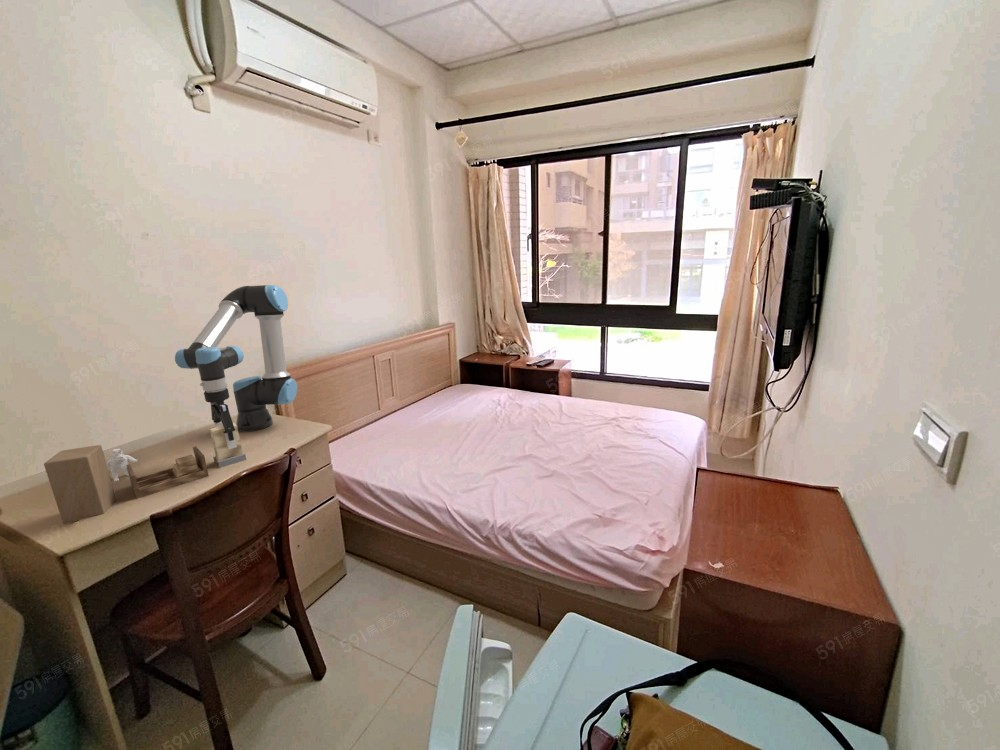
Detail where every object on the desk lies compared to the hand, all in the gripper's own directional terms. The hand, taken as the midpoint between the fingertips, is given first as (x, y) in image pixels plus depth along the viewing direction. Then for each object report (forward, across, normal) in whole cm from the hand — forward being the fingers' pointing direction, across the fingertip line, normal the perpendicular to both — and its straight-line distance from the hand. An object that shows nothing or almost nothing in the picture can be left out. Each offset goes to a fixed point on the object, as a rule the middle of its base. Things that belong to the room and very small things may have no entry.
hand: (227, 443), depth 164 cm
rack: (+8, +2, -19) cm, 21 cm away
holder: (+8, 0, 0) cm, 8 cm away
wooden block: (+8, +5, -40) cm, 41 cm away
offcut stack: (+7, +2, -14) cm, 16 cm away
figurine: (+8, -15, -30) cm, 35 cm away
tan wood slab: (+7, 0, 0) cm, 7 cm away
